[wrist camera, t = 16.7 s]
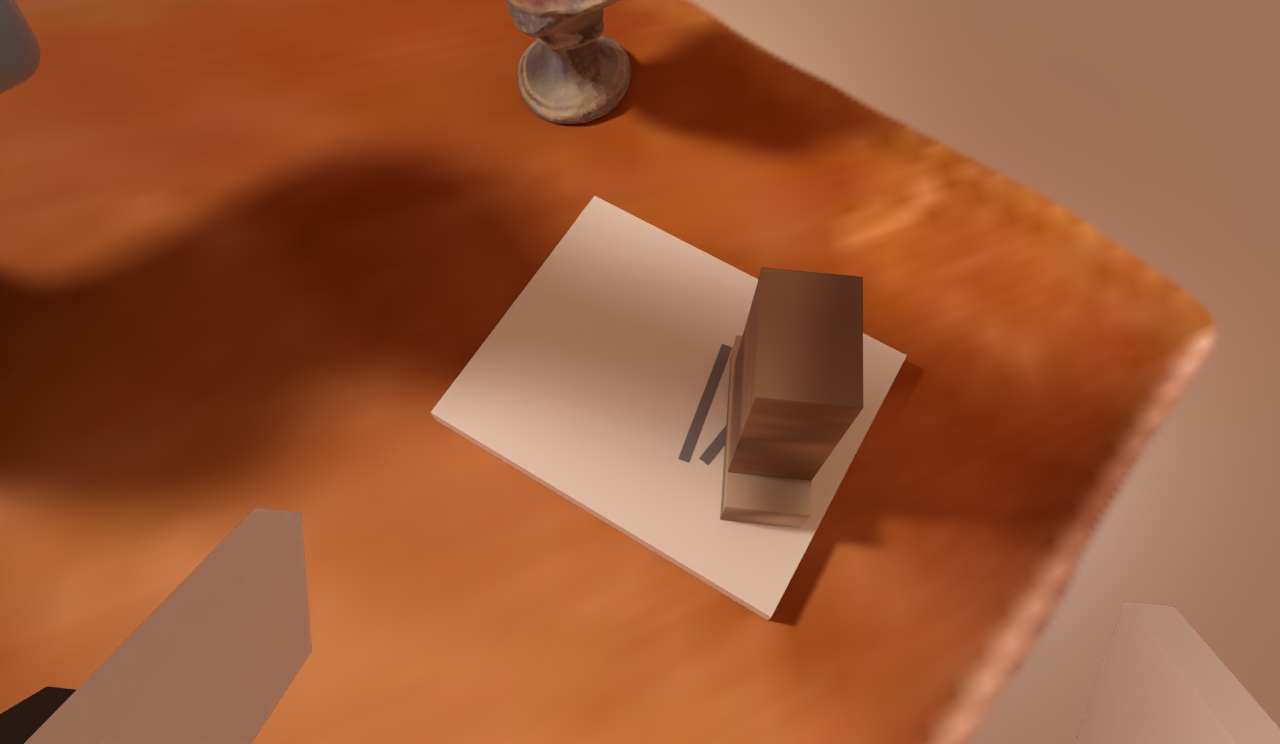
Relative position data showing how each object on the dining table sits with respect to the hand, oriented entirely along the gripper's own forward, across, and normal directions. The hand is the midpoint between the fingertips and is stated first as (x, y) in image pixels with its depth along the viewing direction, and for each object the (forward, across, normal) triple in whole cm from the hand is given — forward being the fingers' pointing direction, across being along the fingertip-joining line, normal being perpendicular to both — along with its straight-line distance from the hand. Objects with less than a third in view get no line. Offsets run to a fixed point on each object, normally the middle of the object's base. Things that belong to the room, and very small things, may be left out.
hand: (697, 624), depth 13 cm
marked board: (+30, 0, -9) cm, 32 cm away
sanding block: (+28, +4, -10) cm, 30 cm away
